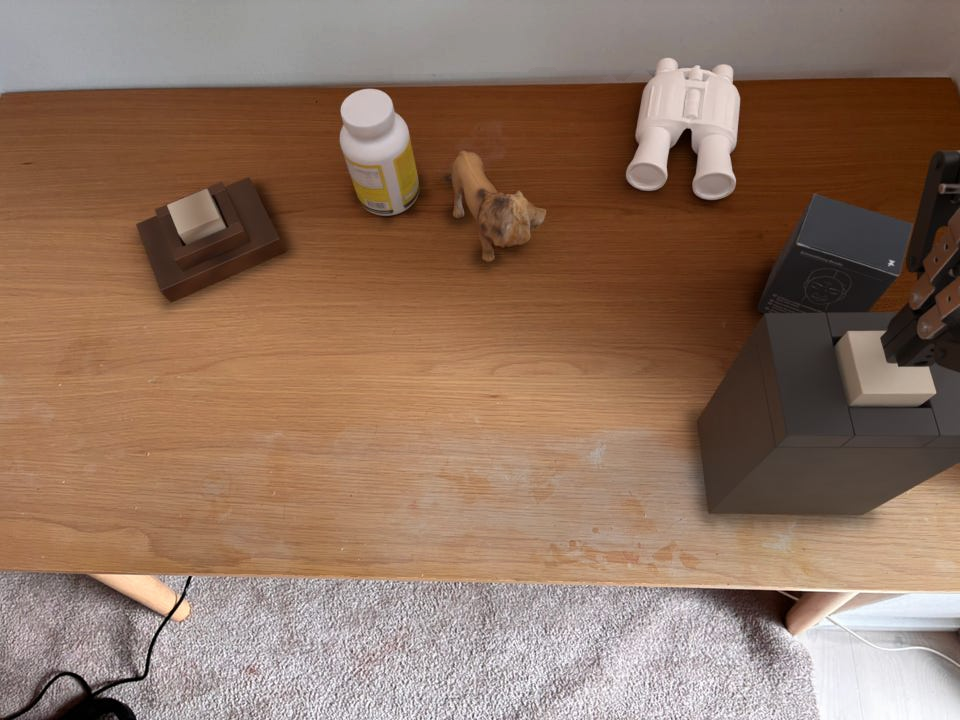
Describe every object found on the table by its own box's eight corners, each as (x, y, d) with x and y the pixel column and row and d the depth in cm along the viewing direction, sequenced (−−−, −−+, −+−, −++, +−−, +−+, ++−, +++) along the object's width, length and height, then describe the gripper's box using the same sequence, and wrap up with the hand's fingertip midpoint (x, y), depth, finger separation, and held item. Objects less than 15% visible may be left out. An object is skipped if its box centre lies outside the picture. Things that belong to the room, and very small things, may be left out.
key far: (186, 245, 65) (178, 234, 63) (174, 216, 66) (166, 204, 65) (226, 228, 65) (219, 217, 64) (214, 200, 67) (206, 188, 66)
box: (856, 294, 63) (916, 222, 53) (841, 344, 61) (901, 278, 51) (771, 265, 65) (814, 190, 55) (753, 312, 63) (795, 242, 53)
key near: (846, 408, 40) (862, 393, 38) (832, 347, 42) (847, 330, 40) (917, 407, 40) (937, 393, 38) (900, 346, 42) (918, 330, 40)
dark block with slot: (708, 513, 55) (787, 435, 39) (696, 420, 58) (764, 312, 42) (863, 515, 54) (1009, 436, 38) (841, 420, 58) (967, 311, 41)
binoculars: (622, 190, 70) (629, 158, 65) (642, 79, 76) (649, 43, 72) (728, 206, 68) (741, 173, 64) (738, 91, 75) (751, 55, 71)
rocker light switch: (170, 303, 66) (150, 280, 63) (146, 237, 70) (126, 212, 66) (286, 252, 68) (273, 227, 65) (256, 190, 72) (242, 164, 68)
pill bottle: (419, 167, 72) (403, 77, 62) (421, 216, 69) (404, 130, 59) (358, 172, 72) (331, 84, 62) (357, 221, 70) (329, 137, 59)
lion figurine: (550, 261, 66) (554, 200, 58) (505, 289, 65) (503, 231, 57) (464, 168, 72) (458, 101, 64) (422, 192, 71) (410, 127, 63)
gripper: (982, -18, 26) (807, 254, 41) (1123, 282, 20) (857, 467, 35) (1195, -25, 25) (937, 252, 41) (1404, 280, 19) (1009, 468, 35)
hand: (900, 352), depth 38 cm, fingers closed
